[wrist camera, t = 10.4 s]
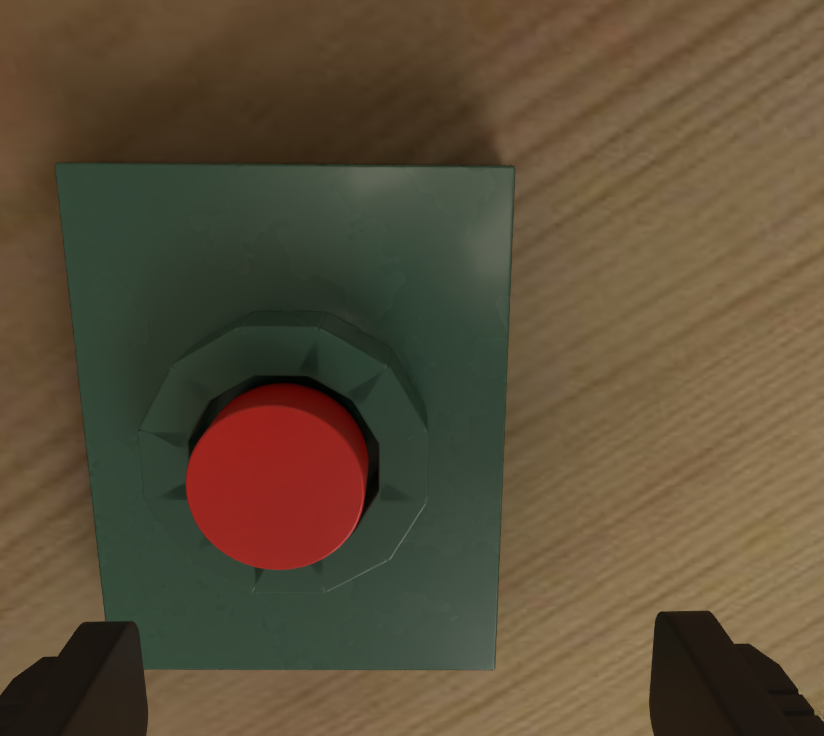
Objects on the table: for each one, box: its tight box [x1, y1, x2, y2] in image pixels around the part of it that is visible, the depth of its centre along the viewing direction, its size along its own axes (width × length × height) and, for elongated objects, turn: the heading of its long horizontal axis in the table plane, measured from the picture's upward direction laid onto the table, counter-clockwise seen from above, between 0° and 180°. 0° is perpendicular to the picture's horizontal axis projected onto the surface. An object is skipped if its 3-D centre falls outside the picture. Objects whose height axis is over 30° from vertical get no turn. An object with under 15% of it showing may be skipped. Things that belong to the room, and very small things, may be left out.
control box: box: [55, 162, 515, 670], centre depth 20 cm, size 14×11×4 cm
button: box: [186, 383, 369, 570], centre depth 18 cm, size 4×4×2 cm
